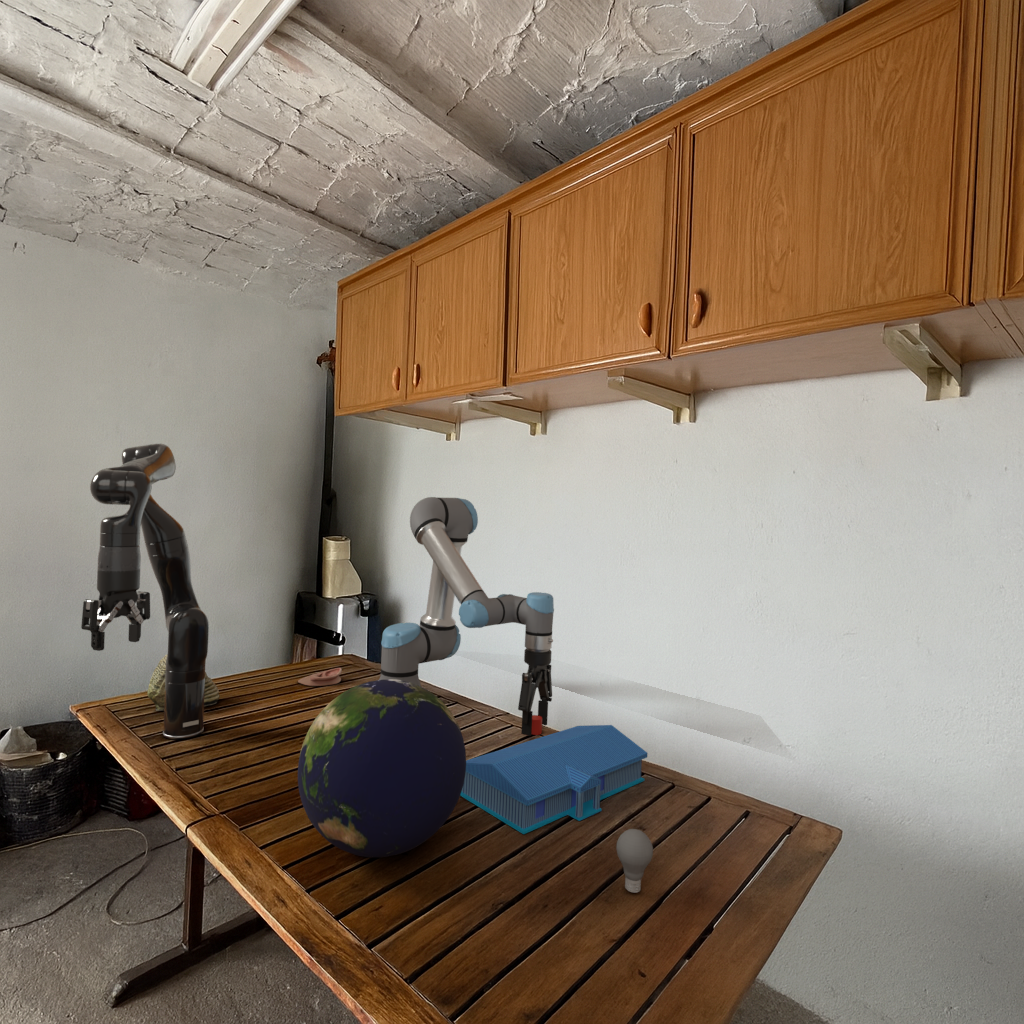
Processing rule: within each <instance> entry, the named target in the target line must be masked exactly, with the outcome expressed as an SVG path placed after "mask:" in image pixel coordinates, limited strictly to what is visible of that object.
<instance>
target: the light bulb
mask: <svg viewBox="0 0 1024 1024" xmlns="http://www.w3.org/2000/svg"><path fill="white" fill-rule="evenodd" d="M615 849H616V854H617V857H618V859H619V861H620V863H621V865H622V867H623V873H624V874H623V875H624V876H625V878H624V888H625V890H627V891H628V892H630V893H634V894H635V893H639V892H640V891H641V889H642V887H641V886H642V879H643V877H644V875H645V871H646V868H647V867H648V866H649V864H650V863H651V861H652V859H653V855H654V847H653V843H652V841H651V838H649V836H648V835H647V834H646V833H645V832H643V831H642V830H641V829H636V828H629V829H627V830H625V831H623V832H622V833H621V834H620V835H619V837H618V839H617V841H616V847H615Z"/></svg>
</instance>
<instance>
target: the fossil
mask: <svg viewBox="0 0 1024 1024" xmlns="http://www.w3.org/2000/svg"><path fill="white" fill-rule="evenodd" d="M166 658H167V654H165V655H164V656H163V657H162V658H161V659H160V660H159V662H158V663H157V666H156V667H155V669H154V670H153V672H152V675H151V677H150V680H149V684H148V688H147V697H148V699H149V700H150V701H152V703H153V704H154V706H155V711H158V712H159V711H162V712H163V711H164V705H165V674H166ZM220 698H221V696H220V690H219V688H218V686H217V685H216V683H215V682H214V681H213V679H212V678H211V677H209V675H208V674H207V672H206V671H205V693H204V707H207V706H213V705H215V704H217V703H218V701H219V699H220Z"/></svg>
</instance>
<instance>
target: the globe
mask: <svg viewBox="0 0 1024 1024" xmlns="http://www.w3.org/2000/svg"><path fill="white" fill-rule="evenodd" d="M466 760H467V753H466V746H465V741H464V737H463V733H462V730H461V728H460V726H459V723H458V721H457V719H456V718H455V716H454V714H453V713H452V711H451V710H450V709H449V708H448V706H447V705H446V704H445V703H444V702H443V701H442V700H441V699H440V698H439V697H438V696H436V695H435V694H434V693H432V692H431V691H430V690H428V689H427V688H425V687H422V686H421V687H420V686H418V685H416V684H413V683H410V682H406V681H402V680H396V679H387V680H379V679H377V680H376V679H375V680H370V681H366V682H363V683H360V684H358V685H355V686H353V687H351V688H349V689H347V690H345V691H344V692H342V693H341V694H340V693H339V695H337V696H336V697H335V698H334V699H332V700H331V701H330V702H329V703H328V704H327V705H326V706H325V707H324V708H322V710H321V711H320V712H319V713H318V715H317V716H316V717H315V719H314V720H313V722H312V723H311V725H310V727H309V729H308V731H307V733H306V735H305V738H304V740H303V742H302V745H301V749H300V752H299V758H298V763H297V764H298V765H297V766H298V767H297V786H298V793H299V797H300V800H301V801H300V802H301V804H302V807H303V809H304V811H305V814H306V816H307V818H308V820H309V822H310V823H311V824H312V826H313V827H314V829H315V830H316V831H317V833H318V834H320V835H321V836H322V837H323V839H325V840H326V841H327V842H328V843H330V844H331V845H333V846H335V847H336V848H338V849H339V850H341V851H343V852H346V853H348V854H351V855H354V856H358V857H363V858H387V857H393V856H397V855H401V854H404V853H406V852H410V851H411V850H413V849H415V848H417V847H419V846H420V845H422V844H423V843H425V842H427V840H429V839H430V838H432V837H433V836H434V835H435V834H436V833H437V832H438V831H439V830H440V829H441V828H442V827H443V826H444V824H446V822H447V821H448V819H449V818H450V816H451V814H452V813H453V811H454V809H455V808H456V806H457V804H458V801H459V799H460V797H461V796H460V794H461V791H462V788H463V784H464V779H465V773H466Z"/></svg>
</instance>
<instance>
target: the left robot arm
mask: <svg viewBox="0 0 1024 1024" xmlns="http://www.w3.org/2000/svg"><path fill="white" fill-rule="evenodd" d="M172 451H173V450H172V449H171V447H169V446H168V445H167V444H165V443H152V444H144V445H138V446H131V447H127V448H124V449H123V451H122V452H121V462H122V464H121V465H120V466H113V467H106V468H102V469H100V470H99V471H97V472H96V473H95V474H94V475H93V477H92V479H91V480H90V483H89V488H90V489H89V490H90V494H91V496H92V498H93V499H94V500H95V501H96V502H98V503H100V504H103V505H115V506H117V505H118V506H129V508H128V510H127V511H126V512H125V513H123V514H119V515H112V516H106V517H104V518H102V520H101V522H100V528H99V549H98V555H97V572H96V575H97V576H96V590H97V591H98V593H99V595H98V598H97V599H88V598H86V599H84V601H83V603H82V615H81V625H80V626H81V627H80V628H81V630H82V631H83V630H85V631H89V632H90V638H91V639H90V647H91V648H92V650H93V651H98V652H101V651H104V650H105V637H106V634H105V633H106V632H105V630H106V628H107V626H108V624H111V622H113V620H114V619H117V618H120V617H125V618H126V619H127V620H128V621H129V624H128V642H131V643H139V642H140V639H141V636H142V624H143V623H144V621H146V620H147V621H148V620H150V618H151V593H150V592H148V591H142V590H141V591H139V589H140V587H141V560H142V559H141V549H140V546H141V533H142V536H143V541H144V544H145V548H146V552H147V556H148V560H149V562H150V566H151V569H152V571H153V575H154V577H155V579H156V582H157V584H158V586H159V590H160V592H161V596H162V597H161V598H162V602H163V603H162V604H163V608H164V619H165V628H166V630H167V633H168V635H167V636H168V637H167V653H166V655H167V658H166V674H165V705H164V710H163V731H162V737H164V738H166V739H169V740H185V739H190V738H191V739H192V738H194V737H197V736H199V735H202V734H203V732H204V730H205V729H204V722H205V721H204V718H205V706H204V693H205V672H206V664H207V663H206V662H207V658H208V653H209V652H208V651H209V633H210V626H209V625H210V624H209V619H208V618H209V617H208V616H207V615H206V613H205V612H204V611H203V610H202V609H201V607H200V605H199V602H198V600H197V596H196V594H195V590H194V587H193V585H192V584H193V583H192V570H191V569H192V566H191V556H190V548H189V545H188V540H187V537H186V533H185V530H184V527H183V526H182V525H181V524H180V523H179V522H178V521H177V520H176V519H175V518H174V517H173V515H171V514H170V513H168V512H167V511H166V510H165V509H164V508H162V506H160V505H159V503H157V501H156V500H155V499H154V497H153V496H152V494H151V493H152V485H154V484H155V483H157V482H159V481H160V482H161V481H164V480H168V479H170V478H172V477H173V476H174V475H175V473H176V470H177V469H176V467H177V466H176V459H175V456H174V453H173V452H172ZM141 531H142V532H141Z"/></svg>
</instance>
